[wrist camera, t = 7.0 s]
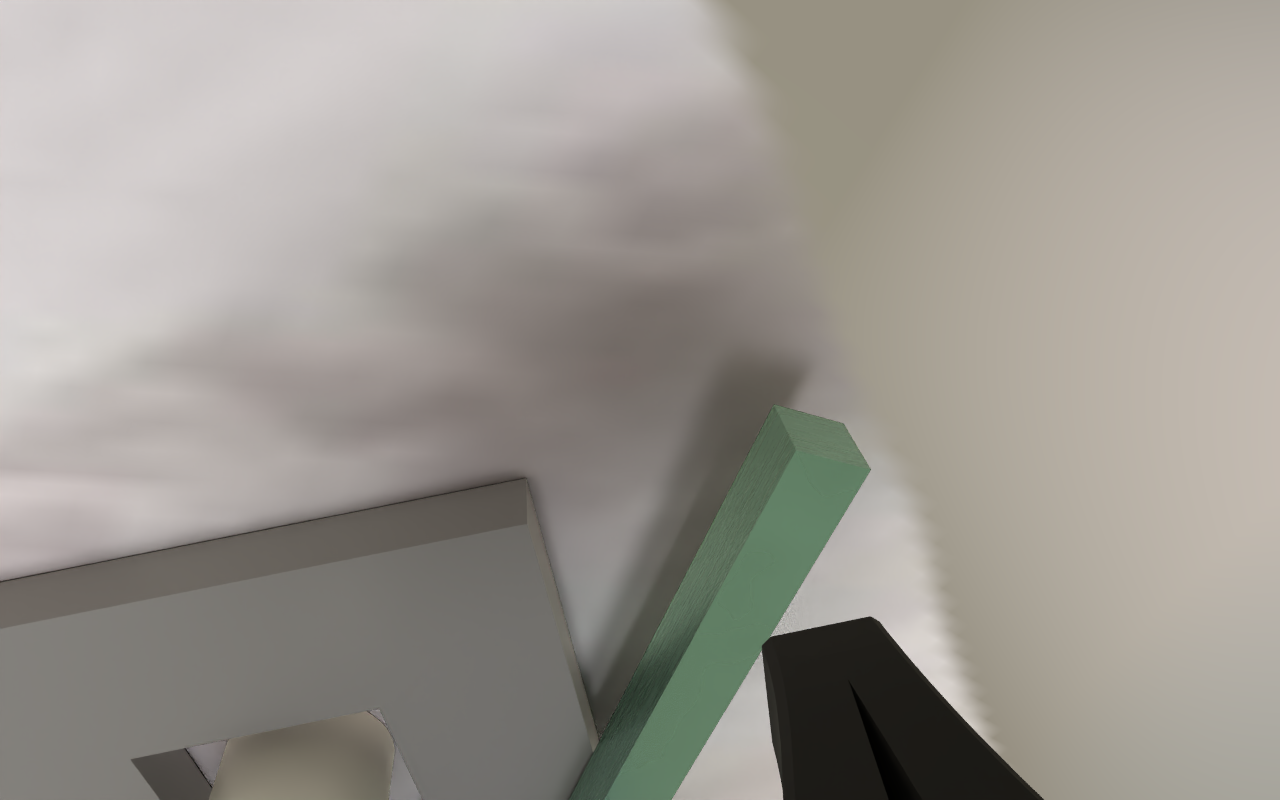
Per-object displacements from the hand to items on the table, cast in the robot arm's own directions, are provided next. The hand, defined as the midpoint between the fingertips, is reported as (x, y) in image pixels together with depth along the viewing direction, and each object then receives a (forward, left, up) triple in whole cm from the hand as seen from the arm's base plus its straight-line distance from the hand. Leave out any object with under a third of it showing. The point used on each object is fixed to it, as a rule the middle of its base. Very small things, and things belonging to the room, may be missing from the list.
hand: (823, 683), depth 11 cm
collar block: (-9, +11, -8) cm, 16 cm away
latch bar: (-8, +3, -7) cm, 11 cm away
